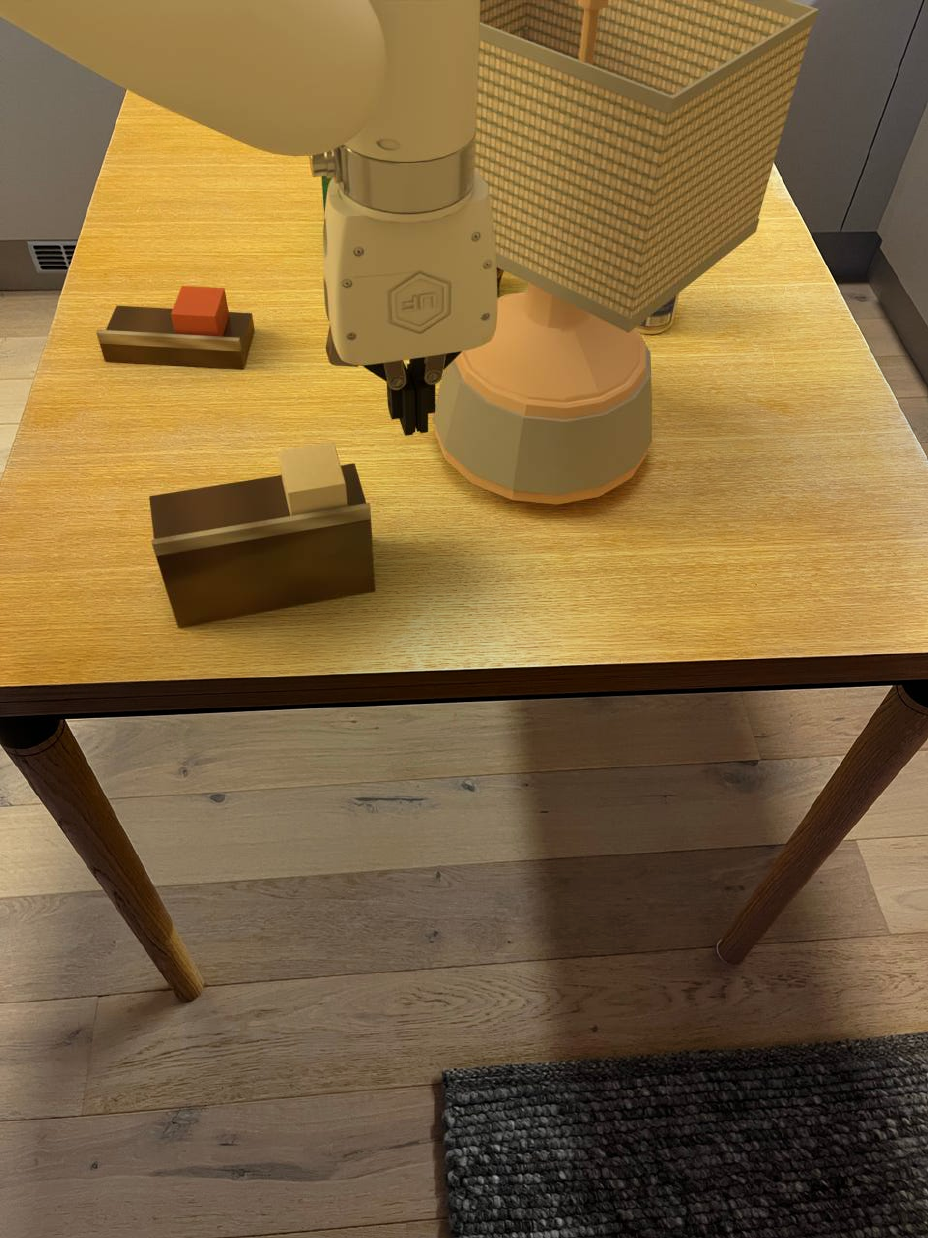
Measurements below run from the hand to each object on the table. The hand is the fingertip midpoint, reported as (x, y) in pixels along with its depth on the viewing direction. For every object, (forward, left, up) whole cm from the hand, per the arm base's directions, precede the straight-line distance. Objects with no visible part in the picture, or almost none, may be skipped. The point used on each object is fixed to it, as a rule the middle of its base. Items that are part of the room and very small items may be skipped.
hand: (411, 420), depth 69 cm
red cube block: (+9, +32, -12) cm, 35 cm away
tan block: (-6, +4, -6) cm, 9 cm away
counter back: (+7, +34, -14) cm, 37 cm away
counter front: (-9, +7, -14) cm, 18 cm away
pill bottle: (+39, +1, -14) cm, 42 cm away
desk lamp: (+17, -1, -14) cm, 22 cm away
